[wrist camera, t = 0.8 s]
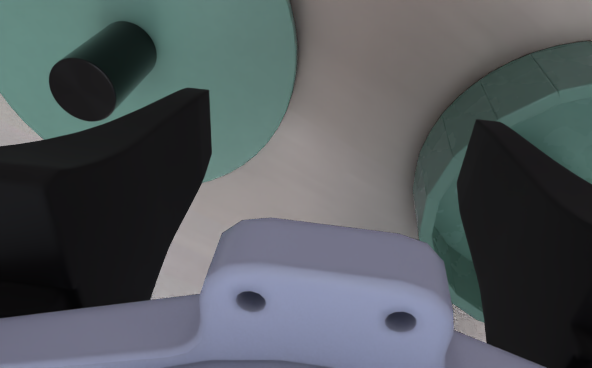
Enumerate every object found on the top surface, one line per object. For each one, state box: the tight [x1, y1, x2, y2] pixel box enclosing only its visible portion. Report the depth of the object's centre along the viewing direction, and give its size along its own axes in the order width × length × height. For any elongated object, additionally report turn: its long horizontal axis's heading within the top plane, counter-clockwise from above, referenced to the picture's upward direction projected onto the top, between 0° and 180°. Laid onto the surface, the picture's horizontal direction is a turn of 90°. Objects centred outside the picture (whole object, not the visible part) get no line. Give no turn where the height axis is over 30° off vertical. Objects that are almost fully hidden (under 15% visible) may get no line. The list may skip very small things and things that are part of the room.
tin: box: [413, 41, 592, 322], centre depth 23 cm, size 14×14×4 cm
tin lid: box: [0, 0, 297, 183], centre depth 21 cm, size 15×15×6 cm
